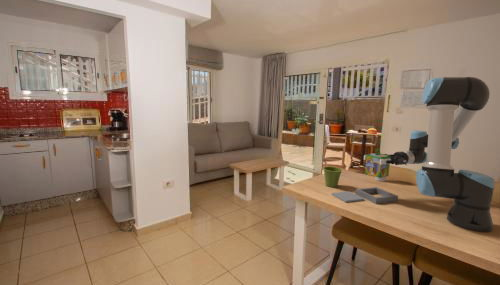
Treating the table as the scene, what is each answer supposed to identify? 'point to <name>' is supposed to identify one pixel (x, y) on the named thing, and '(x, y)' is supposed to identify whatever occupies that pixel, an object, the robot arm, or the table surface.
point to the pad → (347, 196)
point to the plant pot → (332, 176)
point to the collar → (385, 195)
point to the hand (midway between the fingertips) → (372, 159)
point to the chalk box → (376, 165)
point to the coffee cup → (380, 178)
